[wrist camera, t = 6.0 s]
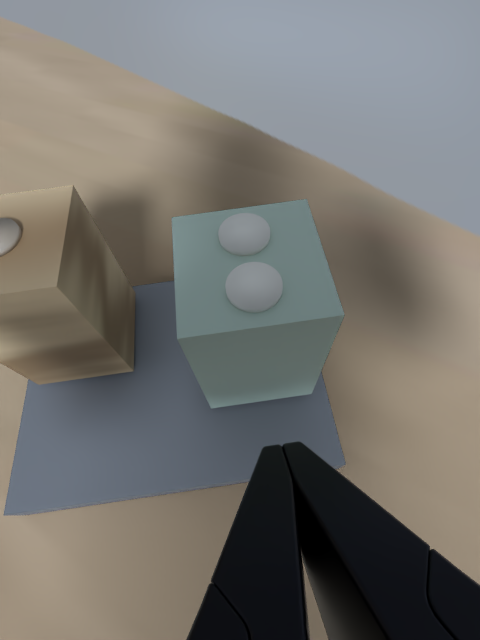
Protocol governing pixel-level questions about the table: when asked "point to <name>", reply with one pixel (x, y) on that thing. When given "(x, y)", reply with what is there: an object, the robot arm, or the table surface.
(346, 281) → the table surface
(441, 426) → the table surface
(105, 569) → the table surface
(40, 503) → the key base
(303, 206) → the two-stud toy brick
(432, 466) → the table surface
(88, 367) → the wooden button block
